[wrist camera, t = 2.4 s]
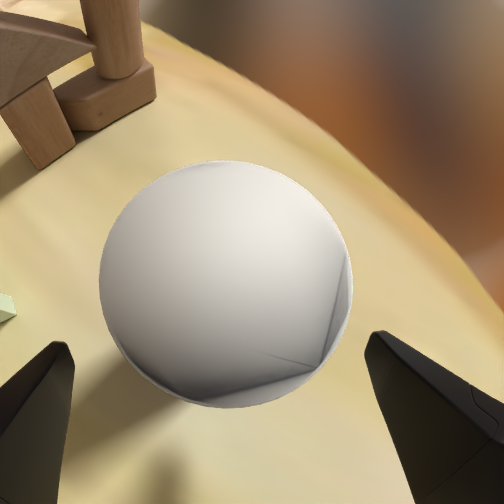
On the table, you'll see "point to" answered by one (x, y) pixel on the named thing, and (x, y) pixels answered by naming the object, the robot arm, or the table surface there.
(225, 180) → the post
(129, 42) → the toy block tower
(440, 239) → the table surface
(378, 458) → the table surface
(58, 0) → the table surface
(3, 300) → the door
